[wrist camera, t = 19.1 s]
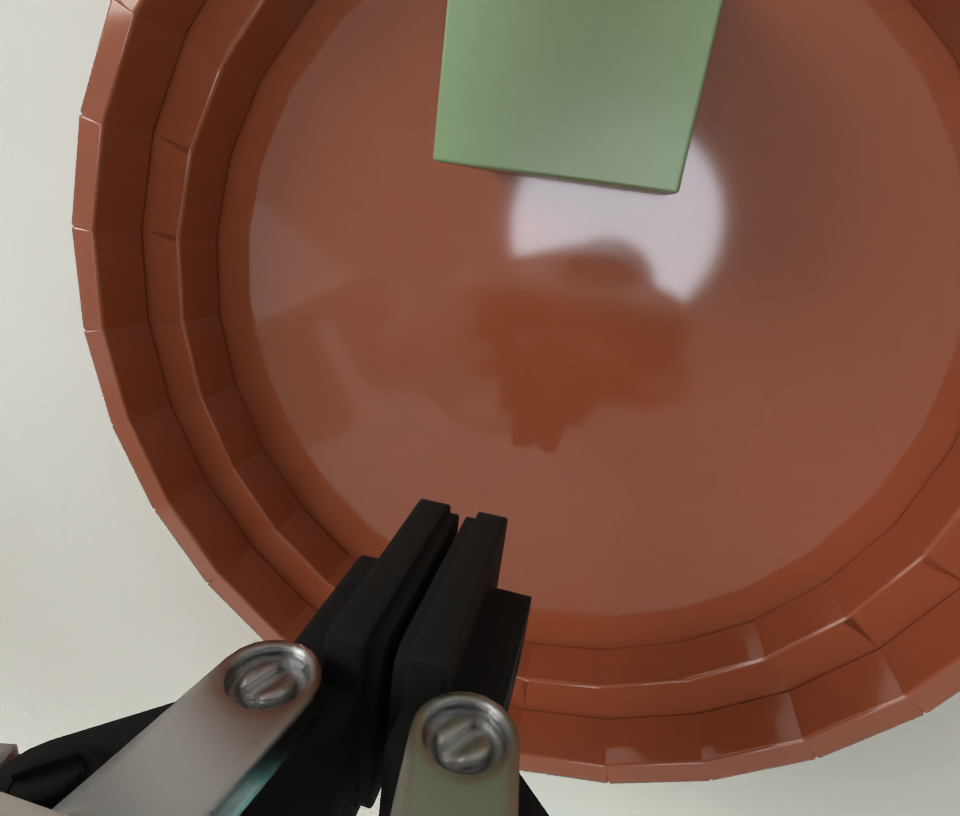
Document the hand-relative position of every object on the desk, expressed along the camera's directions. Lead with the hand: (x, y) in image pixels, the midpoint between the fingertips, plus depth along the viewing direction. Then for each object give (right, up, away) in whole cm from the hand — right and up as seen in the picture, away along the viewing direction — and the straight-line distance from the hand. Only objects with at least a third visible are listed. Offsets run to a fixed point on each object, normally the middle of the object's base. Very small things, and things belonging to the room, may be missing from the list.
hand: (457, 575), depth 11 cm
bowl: (+2, +5, +4) cm, 7 cm away
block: (+3, +10, +1) cm, 10 cm away
